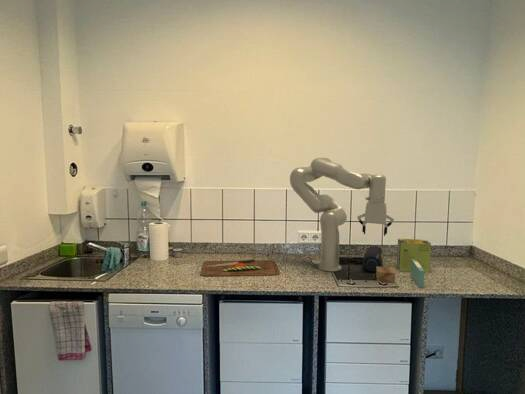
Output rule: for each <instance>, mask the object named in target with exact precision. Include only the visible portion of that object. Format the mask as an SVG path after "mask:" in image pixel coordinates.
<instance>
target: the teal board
mask: <svg viewBox="0 0 525 394" xmlns="http://www.w3.org/2000/svg"><path fill="white" fill-rule="evenodd" d="M410 276H411V277H412V279H413V281H414V282H415V284H416V285H417V287H418V288H419V289H420V288H423V289H424V287H425V271H424V270H423V268H422V267H421V265H420V264H419V263H418V262H417V261H416V260H412V259H411V271H410Z"/></svg>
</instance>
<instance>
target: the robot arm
mask: <svg viewBox="0 0 525 394" xmlns="http://www.w3.org/2000/svg"><path fill="white" fill-rule="evenodd" d="M322 177H325V178H328V179H331V180H333V181H336V182H337V183H338V184H340V185H342V186H345V187H348V188H351V189H354V190H363V189H364V190H365V189H369V190H368V196H367V197H366V196H365V201H368V202H366V205H365V212H364V213H363V214H360V215H357V220H358V222H359V223H360V224H361V226H362V228H361V229H362V230H361V232H362V233H363V235H365V234H366V230H367V229H366V228H367V227H366V225H367V224H379V225H383V226H384V227H383V236H386V235H387V234H388V228H389V227H390V226H391V225H392V223H394V222H395V221H394V220H395V219H394V218H392V216H390V215H387V204H386V203H385V199H386V198H385V197H386V186H387V185H386V184H387V183H386V182H387V178H386V176H385V175H383V174H382V175H381V174H371V173H355V172H353V171H350V170H347V169H345V168H344V167H343V165H342V164H340V163H337V162H334V161H332V160H331V159H330V158H328V157H316V158H314V159H313V160H312V161H311V163H310V166H303V167H302V166H301V167H296V168H294V169H292V171H291V173H290V175H289V182H290V186H291V188H292V190H293V191H294V192H295V193H296V194H297V195H298V197H300V199H301V200H302V201H303V202H304V203H305V204H306V205H307V207H309V209H310V210H311V211H312V212H313V213H316V214H320V213H321V214H320V218H319V222H320V223H319V224H320V233H321V234H320V239H321V240H320V241H321V242H320V258H319V259H312V261H311V263H312V264H314V265H317V268H318V270H321V271H322V272H323V271H324V272H338V271H341V270H342V269H343V268H342V266H341V265H340V263H339V262H340V230H339V226H340V227H341V226H342V225H344V224H345V223H346V222H347V220H348V219H347V218H348V216H347V213H346V211H345V210H344V209H343V208H342V207H341V205H340V204H339V203H338V202H337V201H336V200H335V199H334V198H333V197H332V196H330V195H328V194H320V193H318V191H316V190H315V189H314V187H313V186H311V185H310V184H308V183H311V182H313V181H316V180H318V179H320V178H322ZM362 218H364V221H363V220H362ZM387 220H389V222H388V223H387Z"/></svg>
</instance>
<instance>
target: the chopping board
mask: <svg viewBox="0 0 525 394" xmlns="http://www.w3.org/2000/svg"><path fill="white" fill-rule="evenodd" d="M278 266H279V267H278ZM200 267H201V270H200V271H199V269H200ZM282 267H283V266H282V265H281V263H280V262H278V263H276V261H275V260H272V259H269V260H268V259H265V260H264V259H261V260H260V259H258V260H255V258H254V259H245V260H205V261H203V262H202V264H200V263H198V264H197V269H196V272H195V274H196V275H197V274H200V276H201V277H204V278H218V277H220V278H223V277H224V278H225V277H276V276H280V274H281V273H285V272H284V269H283V268H282ZM279 268H280V269H279Z"/></svg>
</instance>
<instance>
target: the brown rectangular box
mask: <svg viewBox="0 0 525 394" xmlns="http://www.w3.org/2000/svg"><path fill="white" fill-rule="evenodd" d="M395 275H396V273H395V269H394V267H393V266H392V267H390V266H381V267H378V266H376V271H375V277H376V278H377V279H376V282H377V281H380V282H379V283H389V282H392V283H393V284H394V283H395V279H396V278H395V277H396V276H395ZM392 283H391V284H392Z"/></svg>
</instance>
